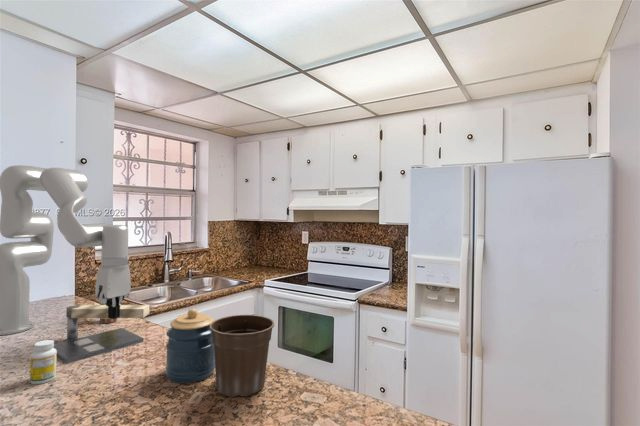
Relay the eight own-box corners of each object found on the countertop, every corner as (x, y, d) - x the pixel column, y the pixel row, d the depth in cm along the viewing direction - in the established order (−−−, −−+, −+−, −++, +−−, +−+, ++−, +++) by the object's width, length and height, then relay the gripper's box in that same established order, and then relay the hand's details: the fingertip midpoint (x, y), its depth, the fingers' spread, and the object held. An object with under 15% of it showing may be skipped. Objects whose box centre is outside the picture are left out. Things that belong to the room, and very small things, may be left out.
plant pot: (238, 366, 100) (240, 310, 100) (284, 380, 92) (286, 320, 92) (194, 390, 86) (195, 326, 86) (244, 410, 78) (246, 339, 78)
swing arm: (62, 318, 114) (62, 309, 114) (71, 313, 119) (72, 305, 119) (143, 317, 117) (143, 309, 117) (149, 313, 122) (149, 305, 122)
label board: (41, 345, 111) (42, 322, 111) (114, 327, 129) (114, 307, 129) (66, 363, 99) (67, 337, 99) (143, 341, 117) (143, 319, 117)
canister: (224, 367, 99) (226, 305, 99) (194, 388, 87) (196, 318, 87) (188, 359, 104) (189, 301, 104) (154, 379, 91) (155, 312, 91)
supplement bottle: (48, 383, 87) (49, 346, 87) (24, 385, 86) (25, 347, 86) (60, 374, 93) (61, 338, 93) (38, 375, 92) (38, 339, 92)
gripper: (124, 258, 122) (123, 310, 122) (84, 264, 108) (83, 323, 108) (141, 260, 120) (140, 312, 120) (103, 266, 106) (102, 326, 106)
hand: (113, 317), depth 114 cm, fingers closed
